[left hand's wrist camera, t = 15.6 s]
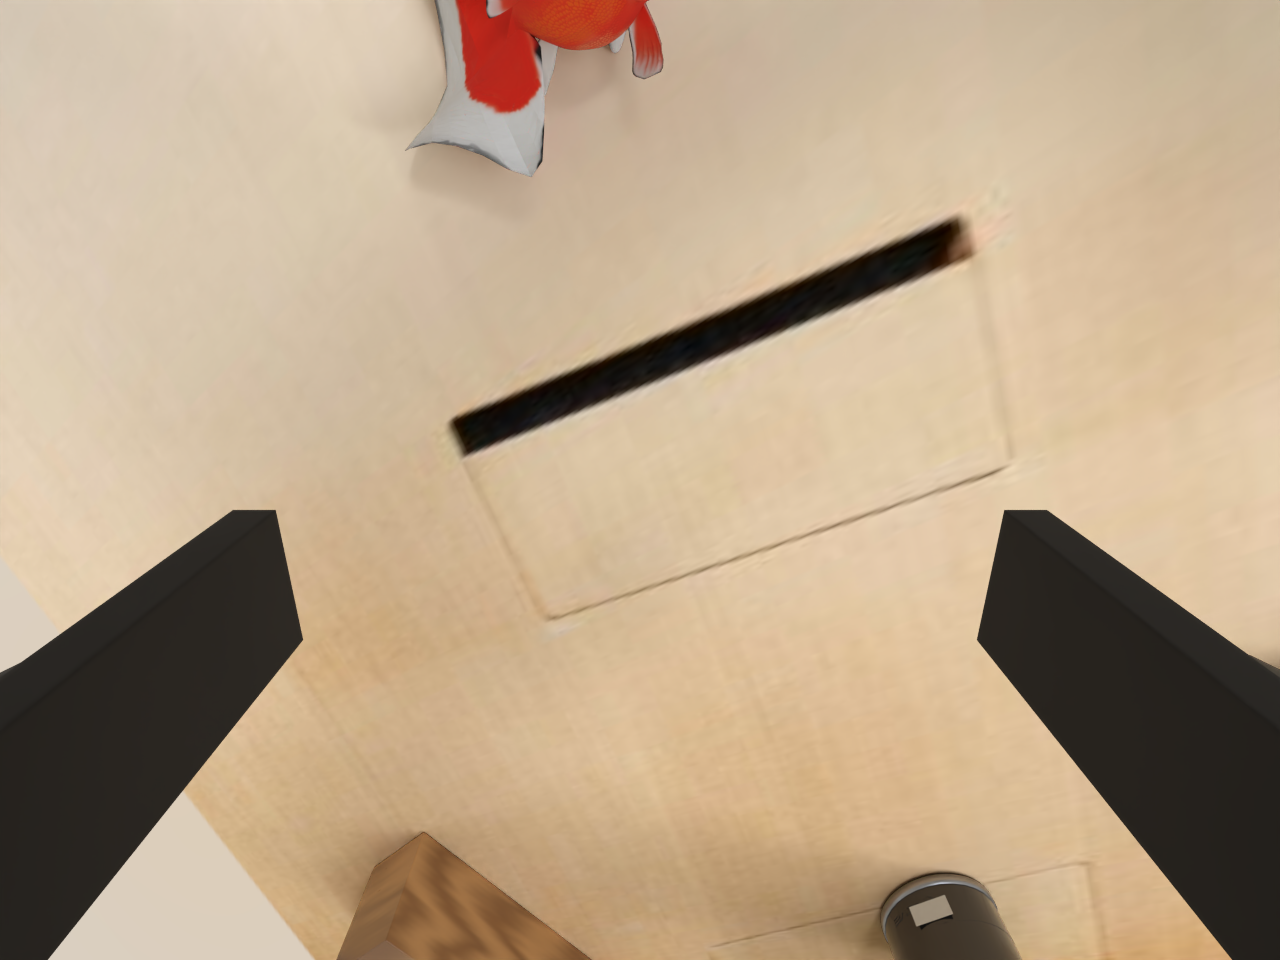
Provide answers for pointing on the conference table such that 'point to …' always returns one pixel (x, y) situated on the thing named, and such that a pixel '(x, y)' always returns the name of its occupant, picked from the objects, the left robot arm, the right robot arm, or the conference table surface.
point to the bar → (444, 914)
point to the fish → (522, 68)
